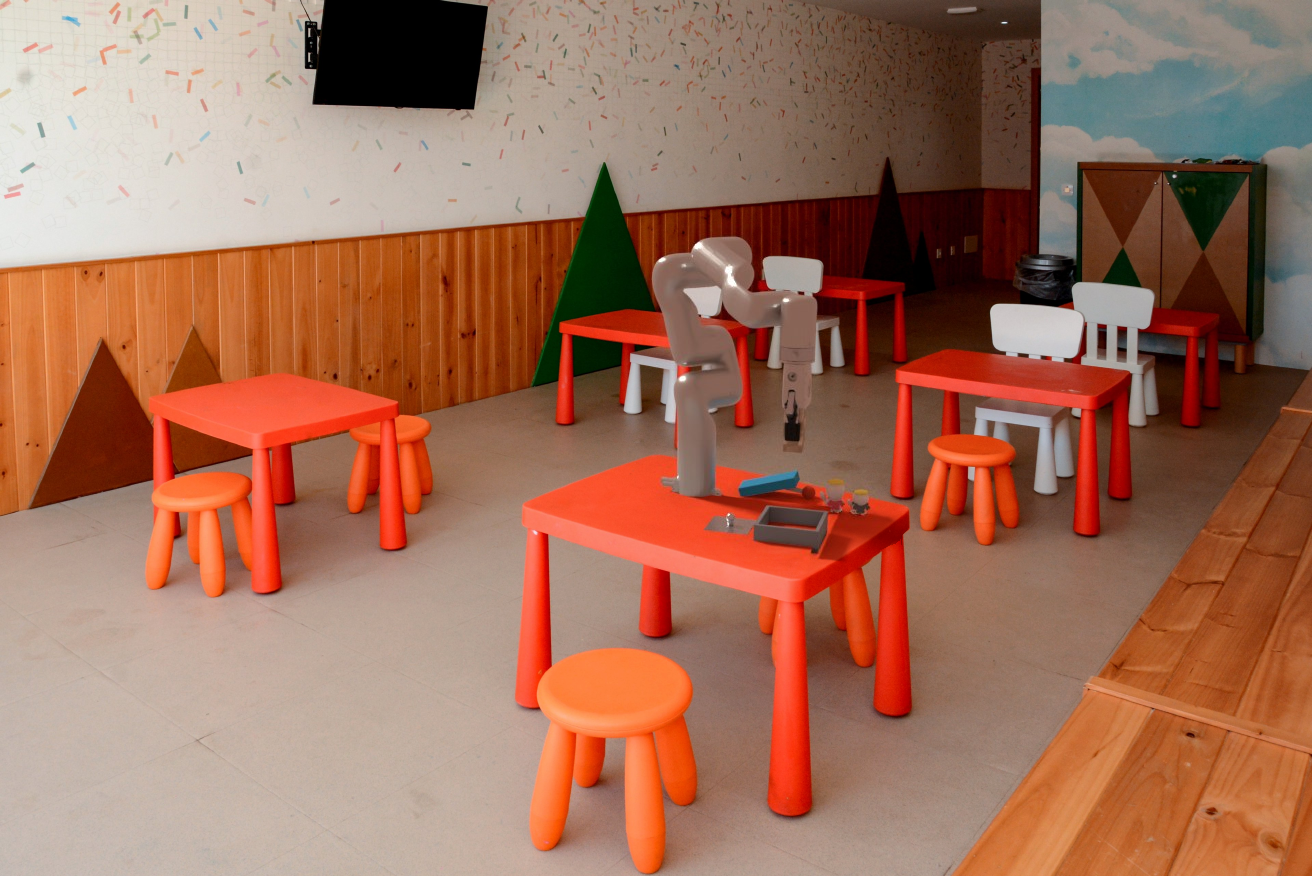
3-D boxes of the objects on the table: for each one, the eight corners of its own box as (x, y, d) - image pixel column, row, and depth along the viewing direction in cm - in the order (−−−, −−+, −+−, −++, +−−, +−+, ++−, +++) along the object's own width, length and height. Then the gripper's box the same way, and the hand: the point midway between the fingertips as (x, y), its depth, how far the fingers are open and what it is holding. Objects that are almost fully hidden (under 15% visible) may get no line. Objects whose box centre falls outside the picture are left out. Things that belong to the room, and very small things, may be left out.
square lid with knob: (703, 536, 237) (703, 517, 235) (714, 521, 246) (714, 504, 245) (747, 541, 234) (747, 522, 233) (756, 526, 243) (757, 508, 242)
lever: (744, 514, 265) (815, 502, 260) (737, 488, 264) (808, 475, 258) (749, 506, 272) (818, 493, 266) (743, 480, 270) (811, 467, 265)
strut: (801, 452, 227) (802, 407, 225) (782, 451, 228) (784, 406, 226) (804, 448, 231) (806, 403, 228) (786, 446, 232) (787, 402, 229)
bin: (753, 546, 230) (753, 524, 229) (766, 525, 243) (766, 505, 242) (817, 553, 226) (818, 531, 225) (827, 532, 239) (828, 511, 238)
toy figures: (870, 512, 253) (872, 478, 251) (869, 518, 249) (871, 484, 247) (819, 508, 256) (821, 475, 254) (818, 513, 252) (819, 480, 250)
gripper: (808, 362, 215) (804, 449, 220) (821, 348, 231) (817, 430, 235) (771, 360, 218) (769, 446, 222) (787, 347, 233) (784, 427, 238)
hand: (794, 437), depth 229 cm, fingers closed on strut, 4 cm apart
